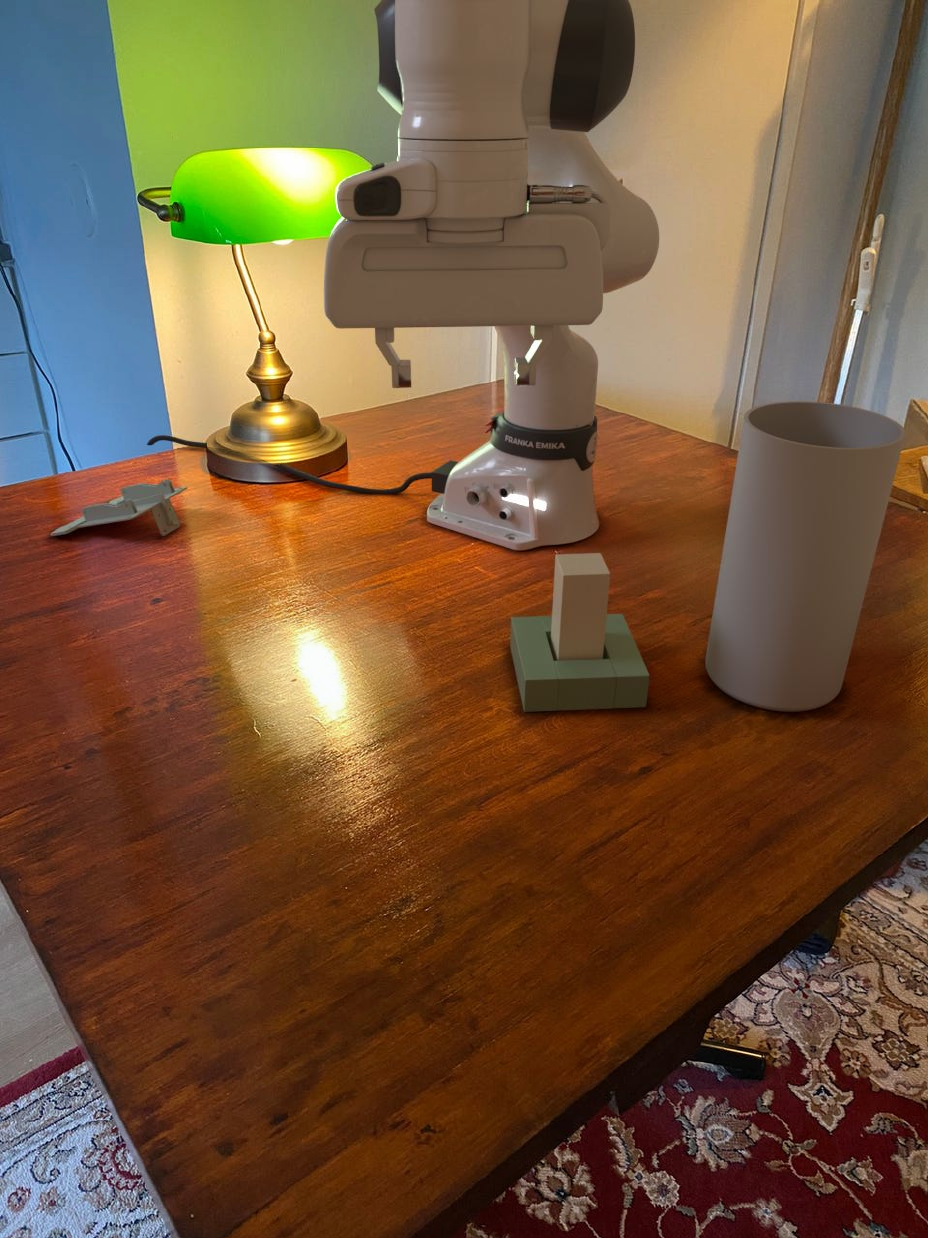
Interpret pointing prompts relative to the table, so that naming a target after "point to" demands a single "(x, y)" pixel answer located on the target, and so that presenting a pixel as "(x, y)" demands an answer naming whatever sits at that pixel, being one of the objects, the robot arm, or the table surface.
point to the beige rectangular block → (579, 606)
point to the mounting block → (577, 669)
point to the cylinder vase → (799, 550)
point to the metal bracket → (132, 508)
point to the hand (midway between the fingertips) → (463, 385)
